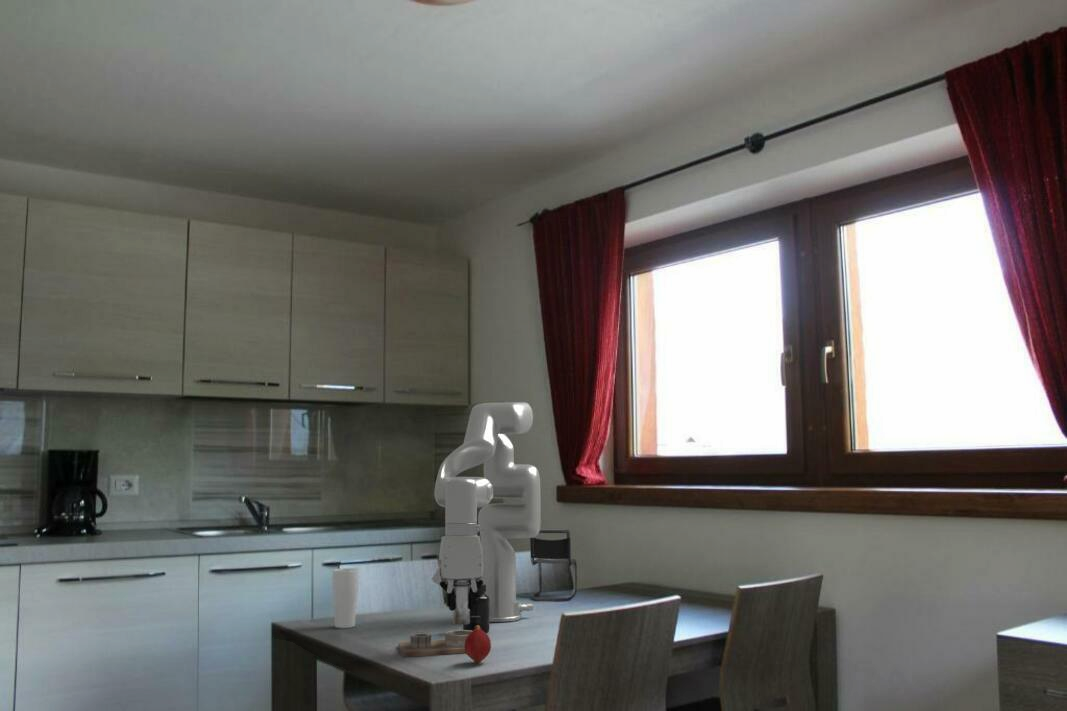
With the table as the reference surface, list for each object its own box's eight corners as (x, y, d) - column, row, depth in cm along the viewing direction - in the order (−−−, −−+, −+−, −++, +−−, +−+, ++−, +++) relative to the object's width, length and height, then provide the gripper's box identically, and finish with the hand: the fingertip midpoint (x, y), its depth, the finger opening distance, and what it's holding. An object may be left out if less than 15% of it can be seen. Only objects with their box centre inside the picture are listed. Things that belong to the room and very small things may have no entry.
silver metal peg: (468, 621, 221) (468, 578, 223) (472, 624, 217) (472, 580, 218) (450, 622, 220) (450, 578, 221) (453, 625, 216) (453, 581, 217)
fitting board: (476, 642, 225) (476, 627, 226) (487, 651, 214) (487, 636, 214) (398, 646, 220) (398, 631, 221) (404, 657, 209) (404, 641, 209)
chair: (528, 601, 291) (527, 529, 293) (538, 593, 308) (538, 525, 310) (569, 601, 289) (568, 529, 291) (577, 594, 305) (576, 526, 308)
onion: (464, 660, 205) (464, 623, 206) (490, 659, 205) (490, 622, 206) (464, 666, 199) (464, 627, 200) (491, 665, 199) (491, 627, 200)
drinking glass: (351, 629, 243) (352, 571, 245) (327, 629, 245) (328, 570, 246) (361, 625, 250) (362, 568, 252) (338, 624, 251) (338, 568, 253)
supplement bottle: (469, 635, 234) (469, 586, 235) (458, 631, 240) (458, 583, 241) (494, 633, 237) (494, 585, 238) (483, 629, 243) (483, 582, 244)
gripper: (492, 528, 227) (492, 605, 225) (423, 530, 223) (423, 608, 221) (499, 530, 220) (499, 610, 218) (428, 532, 216) (428, 613, 213)
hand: (461, 608), depth 219 cm, fingers closed on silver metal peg, 4 cm apart
